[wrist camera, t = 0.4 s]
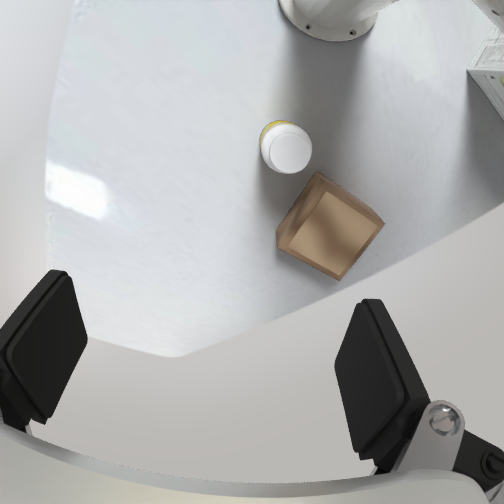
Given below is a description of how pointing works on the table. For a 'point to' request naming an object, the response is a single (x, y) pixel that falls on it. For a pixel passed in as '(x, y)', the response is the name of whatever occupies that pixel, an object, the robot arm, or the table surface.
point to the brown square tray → (328, 227)
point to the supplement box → (491, 68)
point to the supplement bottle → (285, 147)
